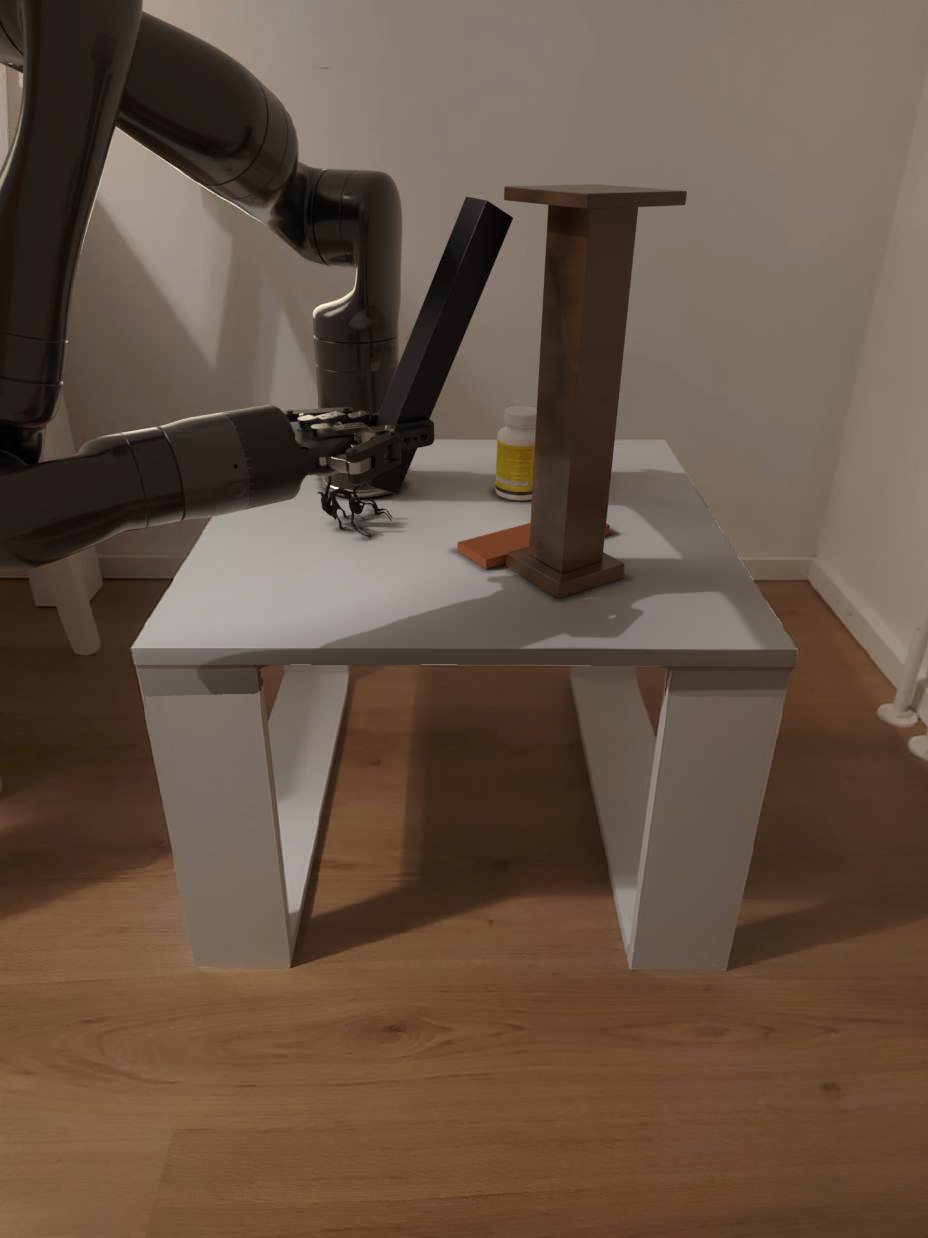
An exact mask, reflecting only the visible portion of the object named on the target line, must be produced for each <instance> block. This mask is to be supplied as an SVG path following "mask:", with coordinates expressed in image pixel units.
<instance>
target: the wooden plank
mask: <svg viewBox="0 0 928 1238" xmlns="http://www.w3.org/2000/svg"><path fill="white" fill-rule="evenodd" d="M610 528H611V525H610V524H609V523H608V522H606V530H605V536H606V535H609V534H610V530H611V529H610ZM529 540H530V522H528V523H525V524H521V525H517V526H514V527H513V526H512V527H509V528H505V529H502V530H498V531H493V532H490V533H487V534H482V535H480V536H475V537H471V538H468V539H464V540H459V541H457V548H456V550H457V552H458V553H460V554H461V555H463V556H464V557H466V558H467V559H469V560H470V561H472V562H474V563H476V564H477V565H478V566H480V567H482V568H483V569H485V570H488V569H492V568H495V567H499V566H502V565H506V557H507V552H511V551H514V550H518V549H521V548H525V547H528V546H529Z"/></svg>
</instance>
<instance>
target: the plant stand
mask: <svg viewBox="0 0 928 1238" xmlns="http://www.w3.org/2000/svg"><path fill="white" fill-rule="evenodd" d="M687 195H688V191H687V190H678V189H666V188H653V187H639V186H624V185H613V184H612V185H611V184H597V183H596V184H554V185H553V184H551V185H547V184H545V185H506V186H505V185H504V188H503V201H507V202H516V203H518V202H519V203H526V204H527V203H528V204H535V205H544V206H545V205H546V206H547V220H546V236H545V252H544V253H545V255H544V271H543V273H544V274H543V288H542V289H543V290H542V309H541V327H540V345H539V360H538V362H539V363H538V379H537V398H536V399H537V400H536V408H537V414H536V432H535V450H534V468H533V486H532V499H531V503H530V504H531V507H530V522H529V523H530V540H529V546H528V547H525V548H521V549H518V550H514V551H511V552H507V557H506V563H505V567H506V568H508V569H510V570H512V571H513V572H515V573H517V574H518V575H520V576H521V577H523V578H524V579H526V580H528V581H529V582H531V583H533V584H534V585H536V586H538V587H539V588H540V589H542V590H544V591H545V592H548V594H550V595H552V596H554V597H555V598H557V599H562V598H564V597H568V596H571V595H575V594H577V593H580V592H583V591H586V590H590V589H592V588H595V587H599V586H602V585H604V584H605V585H606V584H609V583H612V582H614V581H617V580H620V579H623V578H624V576H625V568H626V567H625V566H626V563H625V562H623V561H621V560H619V559H617V558H616V557H614V556H612V555H609V554H608V553H606V552H604V548H605V541H606V540H605V539H606V535H605V530H606V523H607V520H608V509H609V500H610V490H611V481H612V470H613V461H614V460H613V459H614V451H615V450H614V449H615V443H616V442H615V441H616V430H617V422H618V411H619V401H620V393H621V392H620V390H621V383H622V382H621V381H622V371H623V361H624V352H625V344H626V343H625V342H626V331H627V322H628V314H629V313H628V312H629V303H630V292H631V285H632V273H633V265H634V264H633V262H634V253H635V245H636V235H637V234H636V233H637V224H638V215H639V208H651V207H652V208H653V207H677V206H678V207H679V206H680V207H681V206H686V205H687Z"/></svg>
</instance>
